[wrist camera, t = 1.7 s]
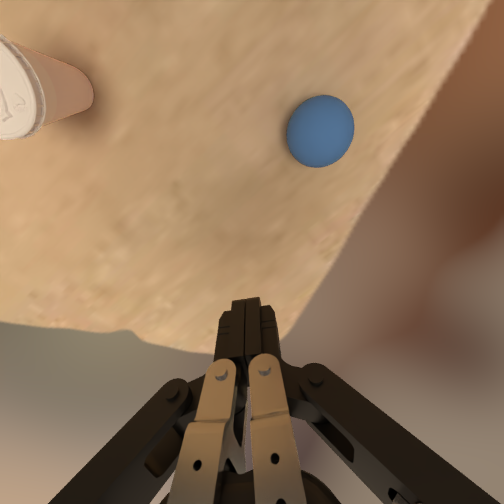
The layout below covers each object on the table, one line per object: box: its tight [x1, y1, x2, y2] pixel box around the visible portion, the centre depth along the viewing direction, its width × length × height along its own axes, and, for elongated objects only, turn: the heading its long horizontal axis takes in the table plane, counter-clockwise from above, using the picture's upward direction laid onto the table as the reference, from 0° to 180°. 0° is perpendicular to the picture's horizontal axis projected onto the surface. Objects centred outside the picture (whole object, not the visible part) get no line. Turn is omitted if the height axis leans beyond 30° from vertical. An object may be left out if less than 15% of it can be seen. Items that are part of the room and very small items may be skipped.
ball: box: [287, 95, 354, 168], centre depth 23 cm, size 6×6×6 cm
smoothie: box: [0, 34, 94, 140], centre depth 18 cm, size 6×6×14 cm
